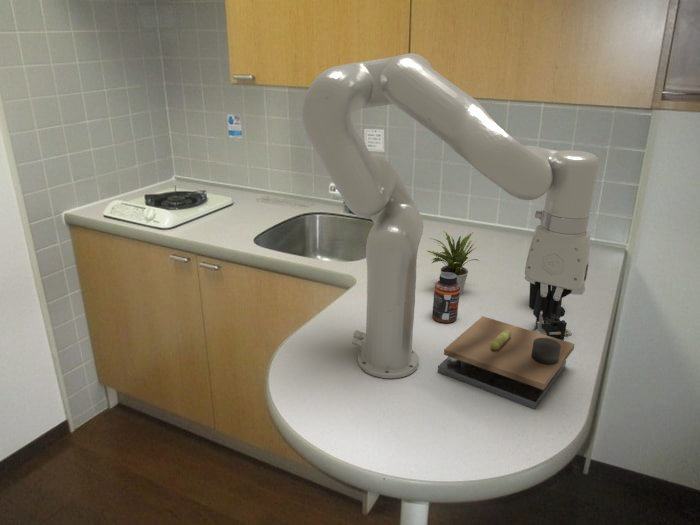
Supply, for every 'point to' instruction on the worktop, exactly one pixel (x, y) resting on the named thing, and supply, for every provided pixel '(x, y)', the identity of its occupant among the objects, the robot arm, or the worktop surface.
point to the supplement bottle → (446, 298)
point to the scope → (550, 320)
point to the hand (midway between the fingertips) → (548, 315)
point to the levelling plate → (511, 351)
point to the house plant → (455, 258)
